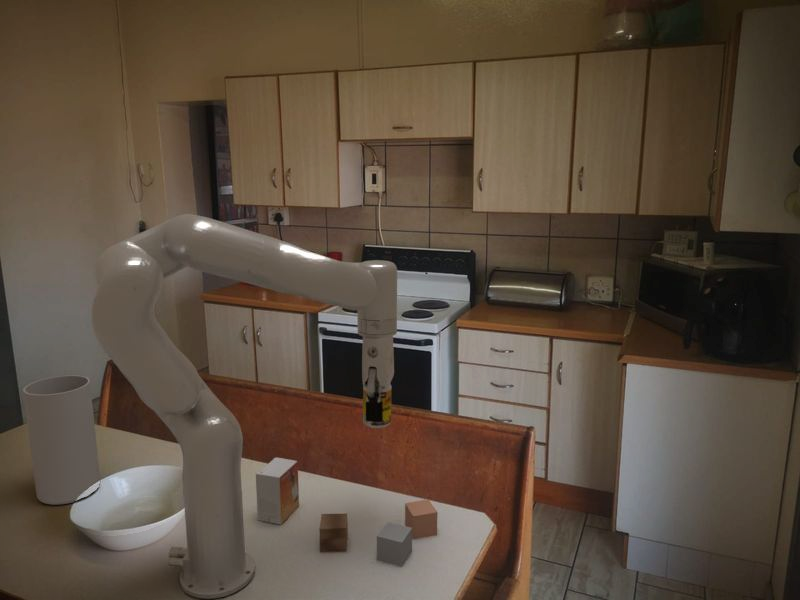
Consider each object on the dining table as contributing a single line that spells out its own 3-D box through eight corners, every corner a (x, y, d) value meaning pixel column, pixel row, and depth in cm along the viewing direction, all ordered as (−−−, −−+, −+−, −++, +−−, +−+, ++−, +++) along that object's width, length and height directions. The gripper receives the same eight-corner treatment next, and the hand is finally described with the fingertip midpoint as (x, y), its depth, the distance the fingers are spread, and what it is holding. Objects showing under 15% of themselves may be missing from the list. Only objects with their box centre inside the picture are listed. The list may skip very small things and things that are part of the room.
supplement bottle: (372, 431, 116) (372, 380, 114) (357, 421, 120) (357, 372, 118) (396, 425, 119) (397, 375, 117) (381, 416, 123) (381, 368, 121)
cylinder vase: (101, 498, 132) (89, 389, 127) (35, 512, 127) (20, 399, 122) (100, 473, 143) (89, 372, 138) (39, 485, 138) (25, 380, 133)
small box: (281, 525, 122) (279, 477, 120) (257, 520, 124) (254, 473, 122) (300, 505, 130) (298, 460, 127) (277, 501, 131) (275, 456, 129)
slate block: (376, 560, 111) (376, 536, 110) (387, 545, 116) (387, 522, 115) (401, 567, 110) (402, 542, 109) (412, 551, 114) (412, 527, 113)
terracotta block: (413, 539, 118) (413, 516, 117) (404, 525, 123) (405, 503, 122) (437, 535, 119) (437, 512, 118) (428, 521, 124) (428, 499, 123)
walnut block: (320, 552, 114) (319, 528, 113) (322, 537, 119) (321, 514, 118) (346, 552, 114) (346, 528, 113) (347, 536, 119) (347, 513, 118)
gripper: (390, 338, 107) (389, 433, 110) (402, 316, 124) (401, 400, 127) (348, 336, 108) (349, 431, 111) (366, 314, 124) (366, 398, 128)
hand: (377, 413), depth 119 cm, fingers closed on supplement bottle, 5 cm apart
